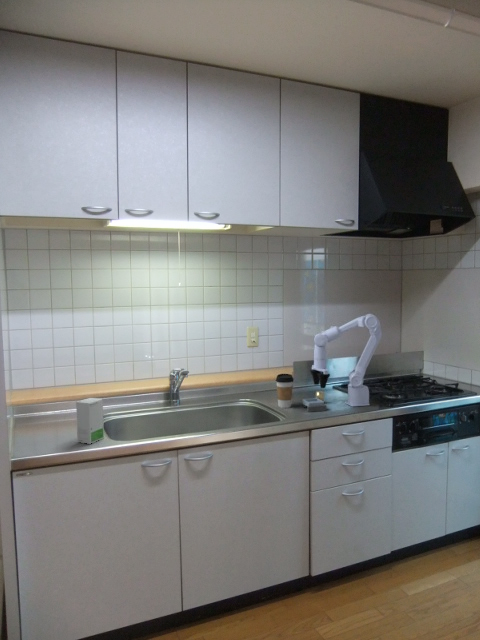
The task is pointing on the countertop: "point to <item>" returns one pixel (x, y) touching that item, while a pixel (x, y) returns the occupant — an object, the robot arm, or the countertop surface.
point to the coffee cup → (284, 390)
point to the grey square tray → (312, 402)
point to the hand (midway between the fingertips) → (319, 386)
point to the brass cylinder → (320, 395)
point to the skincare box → (90, 420)
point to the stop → (316, 408)
